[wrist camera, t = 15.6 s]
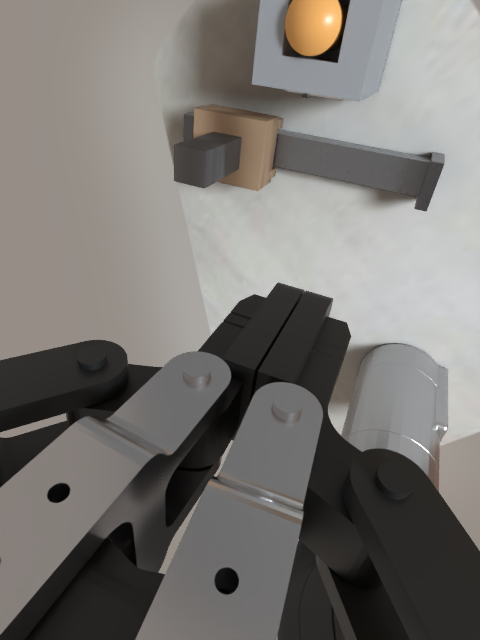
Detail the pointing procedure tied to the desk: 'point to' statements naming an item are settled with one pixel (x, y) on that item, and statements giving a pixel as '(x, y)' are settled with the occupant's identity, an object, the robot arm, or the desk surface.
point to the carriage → (228, 148)
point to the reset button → (315, 25)
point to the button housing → (331, 66)
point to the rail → (354, 163)
